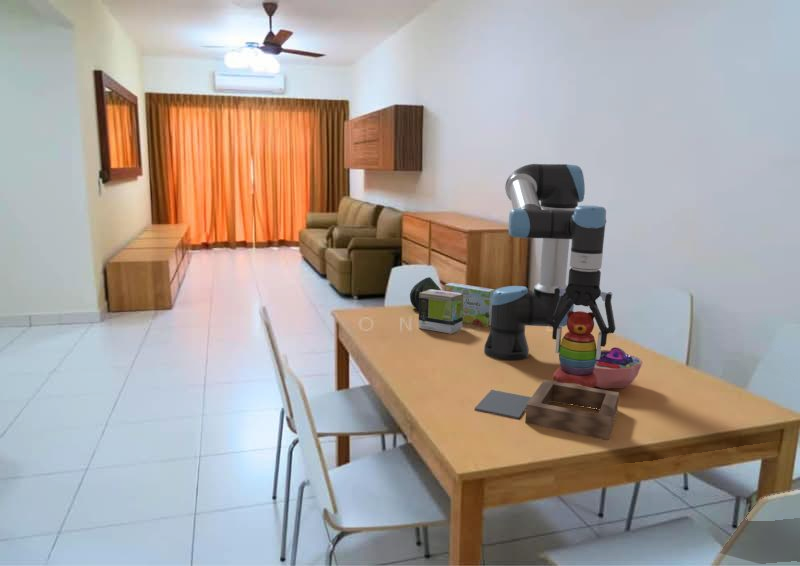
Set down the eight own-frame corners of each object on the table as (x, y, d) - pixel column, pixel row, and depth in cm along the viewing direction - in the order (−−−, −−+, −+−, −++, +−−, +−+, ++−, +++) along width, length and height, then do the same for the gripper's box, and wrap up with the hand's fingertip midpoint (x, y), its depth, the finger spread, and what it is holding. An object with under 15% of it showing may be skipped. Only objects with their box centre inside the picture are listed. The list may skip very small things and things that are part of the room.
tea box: (462, 329, 234) (464, 292, 231) (451, 334, 226) (452, 297, 223) (429, 323, 242) (431, 287, 239) (417, 328, 234) (418, 292, 231)
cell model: (561, 380, 180) (564, 344, 178) (612, 372, 188) (615, 338, 186) (599, 400, 165) (603, 361, 163) (653, 391, 173) (657, 354, 170)
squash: (413, 302, 254) (434, 275, 256) (399, 296, 267) (419, 271, 269) (434, 321, 259) (455, 295, 262) (420, 315, 273) (439, 289, 275)
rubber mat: (474, 409, 156) (474, 408, 156) (491, 391, 170) (491, 389, 169) (518, 419, 151) (519, 417, 151) (532, 399, 164) (532, 397, 164)
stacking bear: (551, 381, 149) (556, 314, 146) (556, 369, 159) (561, 305, 155) (595, 388, 145) (602, 319, 142) (598, 375, 155) (605, 309, 151)
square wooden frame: (525, 422, 149) (526, 404, 148) (542, 396, 167) (544, 379, 166) (608, 440, 141) (610, 420, 140) (617, 410, 158) (619, 392, 157)
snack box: (442, 319, 249) (443, 284, 246) (449, 316, 254) (450, 282, 251) (487, 327, 237) (489, 291, 234) (494, 324, 242) (496, 288, 239)
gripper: (537, 266, 147) (531, 352, 152) (631, 275, 138) (621, 366, 143) (543, 262, 154) (537, 344, 159) (633, 270, 145) (624, 357, 149)
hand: (577, 354), depth 151 cm, fingers closed on stacking bear, 9 cm apart
